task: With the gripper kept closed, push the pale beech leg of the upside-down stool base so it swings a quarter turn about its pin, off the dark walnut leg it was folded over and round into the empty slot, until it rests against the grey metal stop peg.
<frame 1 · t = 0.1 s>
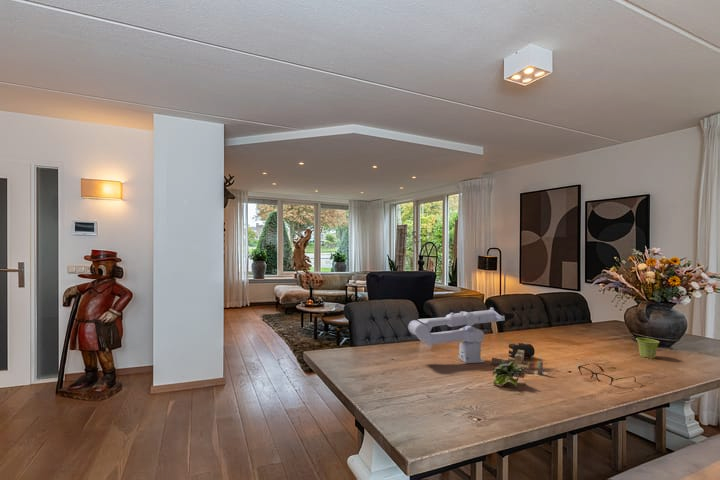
hand: (508, 314, 169), 22 cm above the table, tool horizontal, fingers open, 7 cm apart
leafy green plant: (508, 386, 134), on the table
plant pot: (647, 357, 178), on the table
eyeglasses: (606, 379, 146), on the table
end cap: (521, 358, 170), on the table
stool base: (517, 368, 154), on the table
hinged leg: (519, 358, 159), point 3 cm above the table, hinge at 0.0°
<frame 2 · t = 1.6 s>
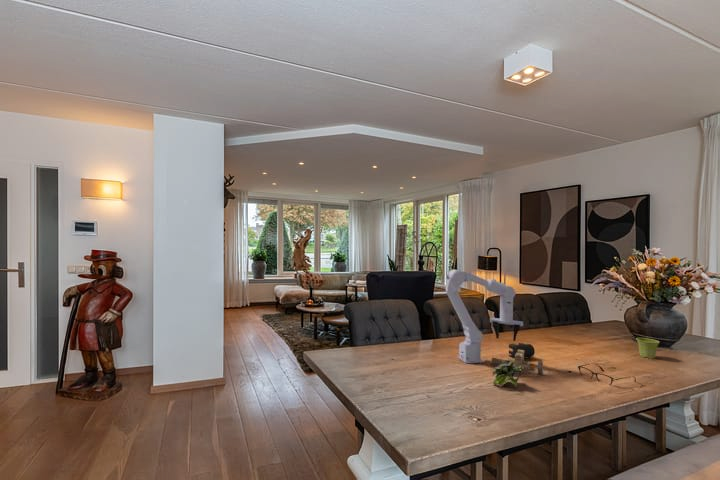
hand: (505, 339, 164), 10 cm above the table, tool pointing down, fingers open, 7 cm apart
nothing on the table moved.
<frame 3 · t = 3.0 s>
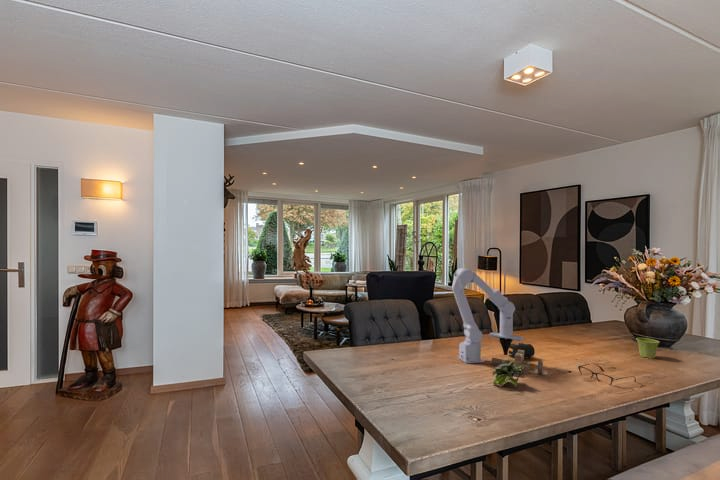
hand: (505, 354, 164), 3 cm above the table, tool pointing down, fingers closed
nothing on the table moved.
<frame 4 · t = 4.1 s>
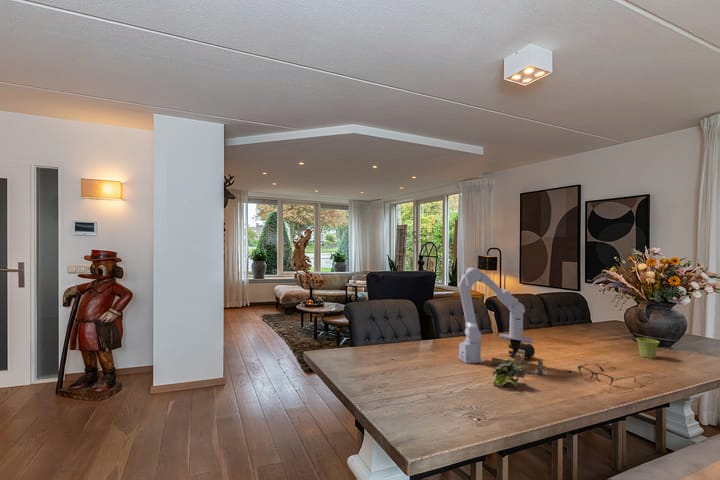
hand: (515, 356, 162), 3 cm above the table, tool pointing down, fingers closed, pressing on hinged leg
hinged leg: (519, 358, 159), point 3 cm above the table, hinge at -0.9°, touching gripper
everything else where it was.
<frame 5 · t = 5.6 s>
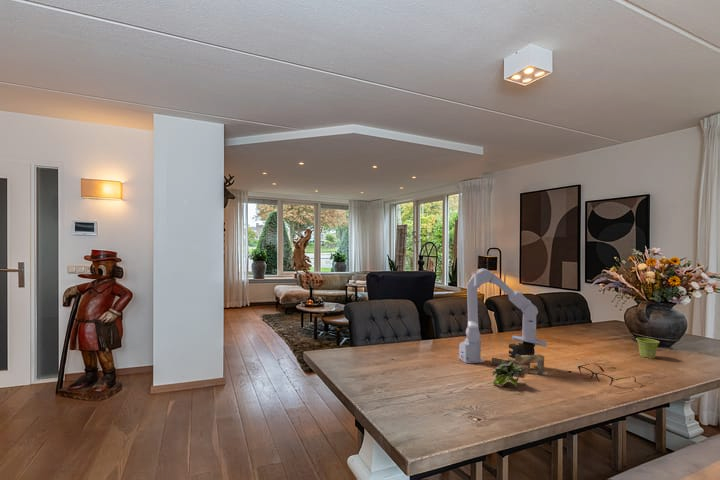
hand: (528, 359, 158), 3 cm above the table, tool pointing down, fingers closed
hinged leg: (529, 360, 155), point 3 cm above the table, hinge at -46.2°, touching gripper
everything else where it was.
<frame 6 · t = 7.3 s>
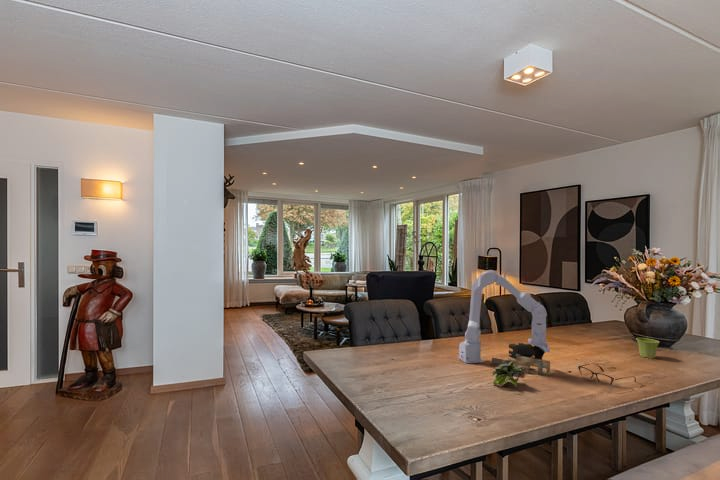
hand: (538, 363, 152), 3 cm above the table, tool pointing down, fingers closed
hinged leg: (532, 363, 151), point 3 cm above the table, hinge at -90.7°, touching gripper, stool base
everything else where it was.
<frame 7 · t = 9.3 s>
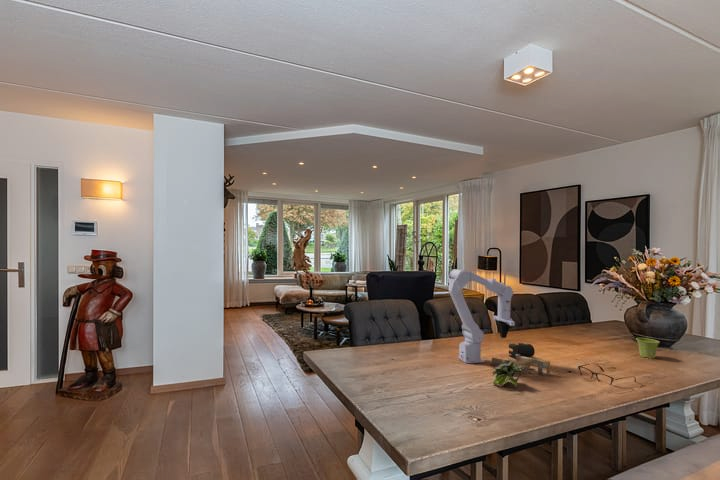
hand: (503, 337, 168), 10 cm above the table, tool pointing down, fingers closed
hinged leg: (532, 363, 151), point 3 cm above the table, hinge at -90.7°, touching stool base
everything else where it was.
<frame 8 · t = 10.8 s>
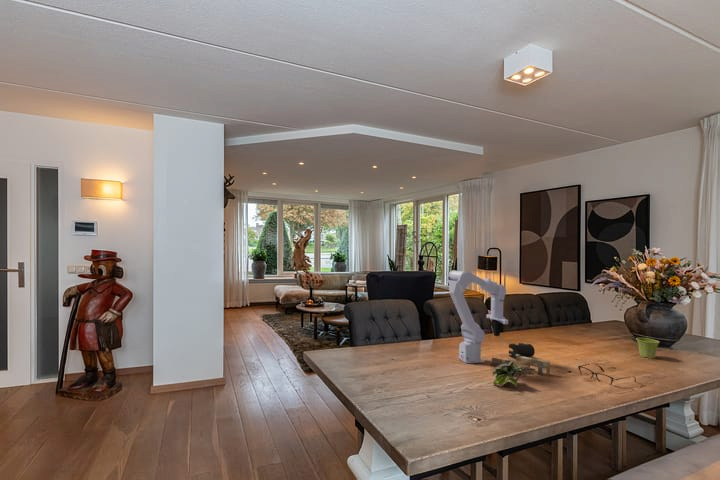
hand: (496, 335, 171), 10 cm above the table, tool pointing down, fingers closed
nothing on the table moved.
at the end: hinged leg at -91° (first picture: +0°) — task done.
